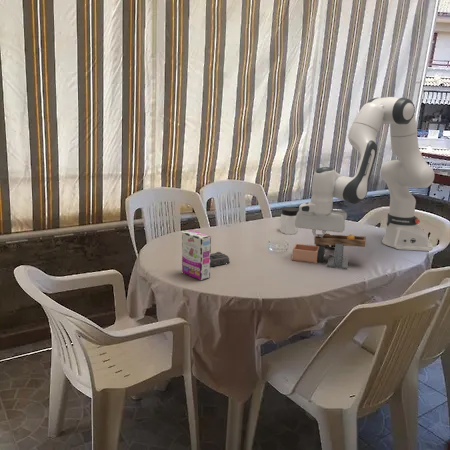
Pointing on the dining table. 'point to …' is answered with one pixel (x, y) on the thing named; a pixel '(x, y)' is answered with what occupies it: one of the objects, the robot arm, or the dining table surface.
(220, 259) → the tank toy
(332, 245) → the pottery mug
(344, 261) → the stand
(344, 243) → the brown wooden tray
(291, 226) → the jar
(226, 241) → the dining table surface
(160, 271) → the dining table surface
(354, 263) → the dining table surface
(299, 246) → the pink open box
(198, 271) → the candy bar box
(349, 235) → the ball
